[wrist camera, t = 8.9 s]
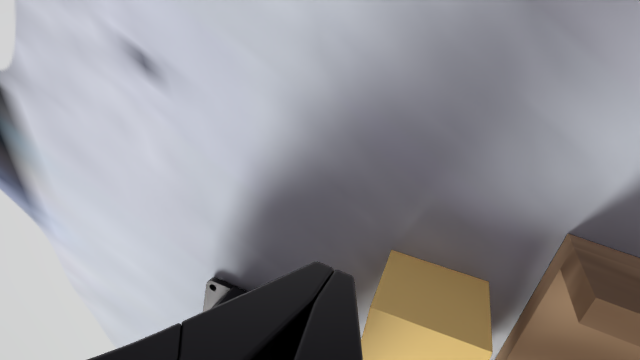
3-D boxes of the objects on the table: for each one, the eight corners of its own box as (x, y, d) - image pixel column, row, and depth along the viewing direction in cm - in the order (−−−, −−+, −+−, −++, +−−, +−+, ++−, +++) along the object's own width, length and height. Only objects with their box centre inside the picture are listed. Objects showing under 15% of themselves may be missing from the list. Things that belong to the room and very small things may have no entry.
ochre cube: (459, 353, 22) (455, 434, 18) (372, 320, 24) (348, 388, 19) (488, 280, 20) (492, 352, 16) (391, 249, 21) (370, 307, 17)
